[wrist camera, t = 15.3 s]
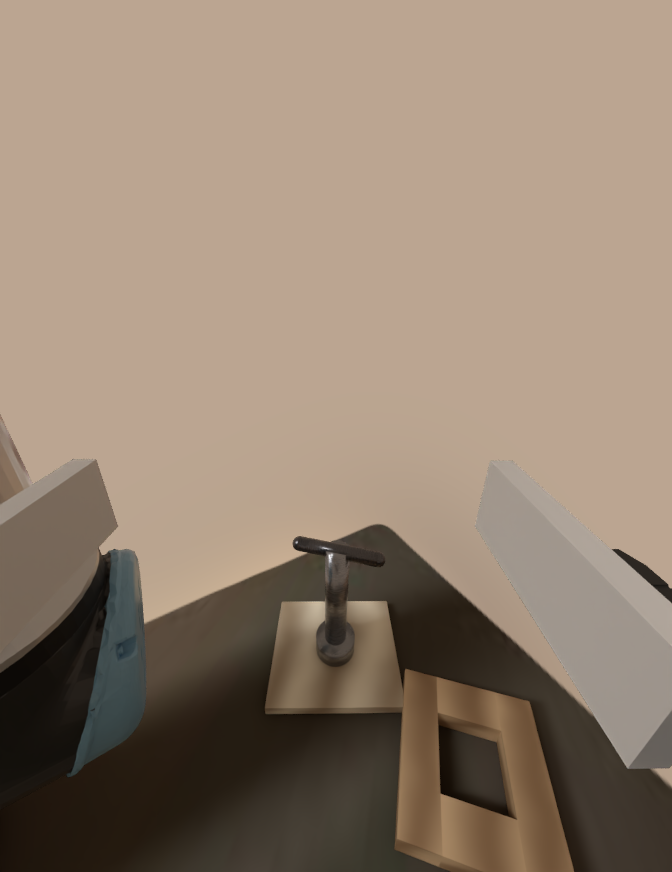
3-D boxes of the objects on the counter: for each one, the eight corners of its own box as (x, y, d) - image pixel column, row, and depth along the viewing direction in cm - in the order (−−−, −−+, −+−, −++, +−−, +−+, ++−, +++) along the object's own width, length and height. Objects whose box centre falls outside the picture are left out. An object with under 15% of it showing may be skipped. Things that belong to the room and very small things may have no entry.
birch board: (265, 714, 32) (264, 708, 31) (282, 607, 43) (282, 601, 42) (405, 712, 32) (405, 706, 32) (386, 606, 43) (386, 601, 43)
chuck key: (290, 654, 36) (284, 551, 30) (303, 620, 40) (300, 523, 34) (372, 678, 34) (382, 572, 28) (378, 639, 38) (388, 539, 32)
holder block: (394, 849, 24) (396, 838, 23) (403, 680, 35) (405, 668, 34) (574, 920, 21) (584, 910, 21) (524, 713, 32) (529, 701, 31)
